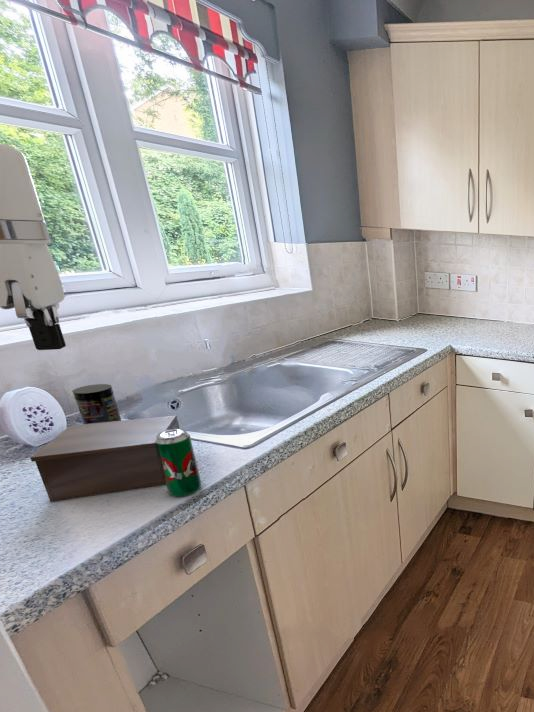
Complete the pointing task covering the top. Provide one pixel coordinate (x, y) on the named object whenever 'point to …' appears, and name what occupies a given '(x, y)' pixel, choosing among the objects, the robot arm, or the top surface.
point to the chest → (101, 472)
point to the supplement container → (96, 404)
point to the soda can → (178, 462)
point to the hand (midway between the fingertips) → (51, 348)
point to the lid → (105, 437)
